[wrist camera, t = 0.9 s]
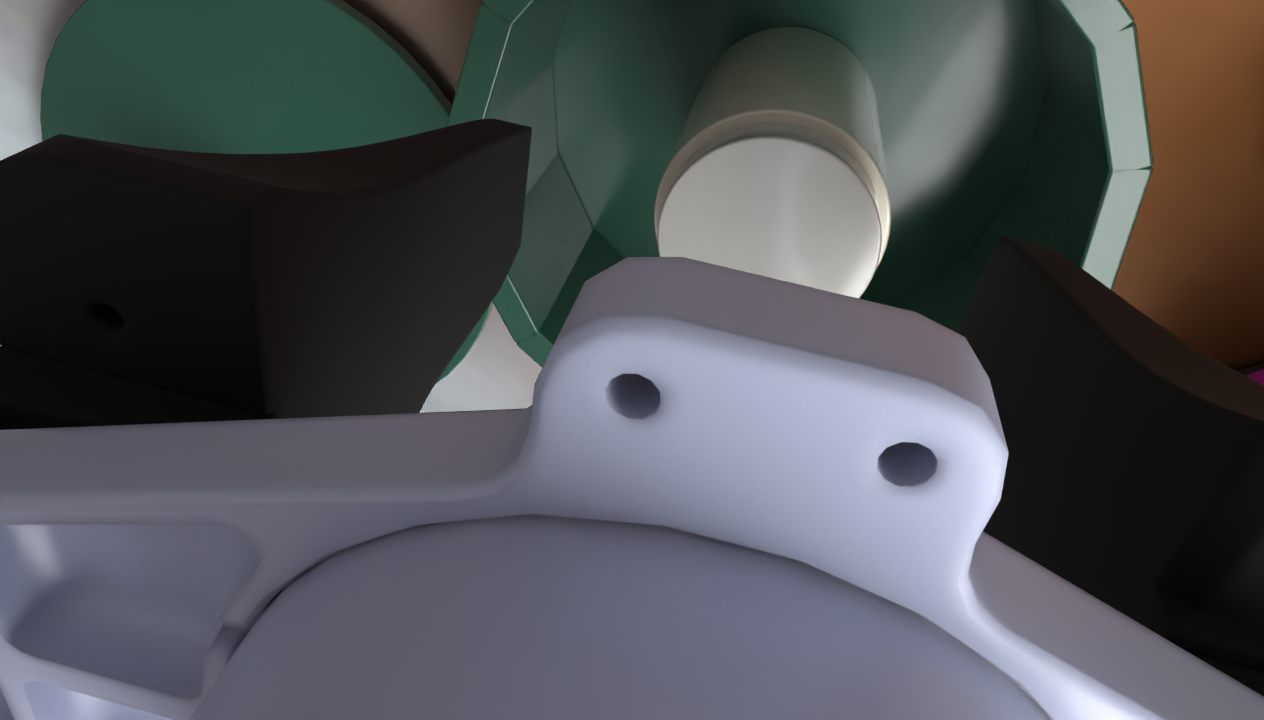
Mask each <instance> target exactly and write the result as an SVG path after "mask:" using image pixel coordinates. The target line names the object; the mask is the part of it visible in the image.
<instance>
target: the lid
mask: <svg viewBox="0 0 1264 720" xmlns="http://www.w3.org/2000/svg"><path fill="white" fill-rule="evenodd" d="M451 108H452V105H451V103H450V102H449V101H448V99H447V98H446V97H445V95H444V94H443V93H442V91H441V90H440V89H439V87H438V86H437V85H436V83H435V82H434V80H433V79H432V78H431V77H430V75H429V74H428V73H427V72H426V71H425V70H424V69H423V68H422V67H421V66H420V65H419V63H418V62H417V61H416V60H415V59H414V58H413V57H412V56H411V55H410V54H409V53H408V52H407V50H406V49H405V48H403V47H402V46H401V45H400V44H399V43H398V42H397V41H395V40H394V39H393V38H392V37H391V36H390V35H389V34H387V33H386V32H385V31H384V30H383V29H382V28H381V27H379V26H378V25H377V24H376V23H375V22H373V21H372V20H370V19H369V18H367V17H366V16H365V15H363V14H362V13H360V12H359V11H357V10H356V9H354V8H353V7H352V6H350V5H349V4H347V3H346V2H344V1H343V0H86V1H85V2H84V3H83V4H82V5H81V6H80V7H79V8H78V9H77V10H76V11H75V12H74V13H73V14H72V16H71V17H70V18H69V20H68V22H67V23H66V25H65V26H64V28H63V30H62V31H61V33H60V35H59V36H58V38H57V39H56V42H55V44H54V47H53V50H52V52H51V55H50V57H49V60H48V63H47V66H46V71H45V76H44V81H43V86H42V92H41V117H40V120H41V130H42V140H43V141H45V140H47V139H49V138H51V137H53V136H55V135H58V134H65V135H70V136H76V137H81V138H88V139H94V140H101V141H108V142H114V143H121V144H127V145H134V146H141V147H148V148H157V149H166V150H177V151H189V152H202V153H221V154H281V153H306V152H316V151H326V150H336V149H343V148H351V147H357V146H363V145H368V144H373V143H378V142H383V141H387V140H392V139H397V138H402V137H407V136H411V135H416V134H420V133H424V132H428V131H432V130H436V129H440V128H444V127H447V122H448V119H449V115H450V111H451ZM492 305H493V301H492V302H491V304H490V305H489V307H488V308H487V310H486V311H485V313H484V314H483V315H482V317H481V318H480V320H479V321H478V323H477V324H476V326H475V327H474V328H473V330H472V331H471V333H470V334H469V336H468V337H467V338H466V340H465V341H464V343H463V344H462V346H461V347H460V348H459V350H458V351H457V353H456V354H455V356H454V357H453V358H452V360H451V361H450V363H449V364H448V366H447V367H446V368H445V370H444V371H443V373H442V374H441V376H440V377H439V379H438V380H437V382H439V381H440V380H441V379H443V378H444V377H445V376H447V375H448V374H449V373H450V372H451V371H452V370H453V369H454V368H455V367H456V366H457V365H458V364H459V363H460V362H461V361H462V360H463V358H464V357H465V356H466V354H467V353H468V351H469V350H470V348H471V347H472V345H473V344H474V342H475V341H476V340H477V338H478V336H479V335H480V333H481V332H482V329H483V327H484V325H485V323H486V321H487V318H488V316H489V314H490V312H491V309H492ZM437 382H436V383H437Z"/></svg>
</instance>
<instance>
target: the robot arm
mask: <svg viewBox="0 0 1264 720" xmlns="http://www.w3.org/2000/svg"><path fill="white" fill-rule="evenodd" d="M531 134H532V127H529V126H524V125H520V124H515V123H511V122H507V121H502V120H498V119H479V120H474V121H469V122H464V123H460V124H456V125H452V126H448V127H444V128H440V129H436V130H432V131H428V132H424V133H420V134H416V135H411V136H407V137H402V138H397V139H392V140H387V141H383V142H378V143H373V144H368V145H363V146H357V147H351V148H343V149H336V150H326V151H316V152H306V153H281V154H221V153H202V152H189V151H177V150H166V149H157V148H148V147H141V146H134V145H127V144H121V143H114V142H108V141H101V140H94V139H88V138H81V137H76V136H70V135H65V134H58V135H55V136H53V137H51V138H49V139H47V140H45V141H42V142H40V143H38V144H36V145H34V146H32V147H29V148H27V149H25V150H23V151H21V152H19V153H16V154H14V155H12V156H10V157H8V158H5V159H3V160H1V161H0V345H2V346H0V720H1264V385H1262V384H1260V383H1258V382H1256V381H1254V380H1252V379H1250V378H1248V377H1246V376H1244V375H1242V374H1241V373H1239V372H1237V371H1235V370H1233V369H1232V368H1230V367H1228V366H1226V365H1224V364H1223V363H1221V362H1219V361H1217V360H1215V359H1214V358H1212V357H1210V356H1208V355H1206V354H1205V353H1203V352H1201V351H1200V350H1198V349H1196V348H1195V347H1193V346H1191V345H1190V344H1188V343H1187V342H1185V341H1183V340H1182V339H1180V338H1179V337H1177V336H1176V335H1174V334H1173V333H1171V332H1170V331H1168V330H1167V329H1165V328H1164V327H1162V326H1161V325H1159V324H1158V323H1156V322H1155V321H1153V320H1152V319H1150V318H1149V317H1148V316H1146V315H1145V314H1143V313H1142V312H1141V311H1139V310H1138V309H1136V308H1135V307H1134V306H1132V305H1131V304H1129V303H1128V302H1127V301H1125V300H1124V299H1123V298H1121V297H1120V296H1118V295H1117V294H1116V293H1114V292H1113V291H1112V290H1110V289H1109V288H1108V287H1106V286H1105V285H1104V284H1102V283H1101V282H1100V281H1098V280H1097V279H1096V278H1094V277H1093V276H1092V275H1090V274H1089V273H1088V272H1086V271H1085V270H1083V269H1082V268H1081V267H1079V266H1078V265H1077V264H1075V263H1074V262H1072V261H1071V260H1069V259H1068V258H1066V257H1065V256H1063V255H1062V254H1060V253H1059V252H1057V251H1055V250H1053V249H1052V248H1050V247H1047V246H1045V245H1043V244H1039V243H1035V242H1030V241H1026V240H1022V239H1017V238H1013V237H1008V236H1004V235H1000V236H999V238H998V241H997V243H996V245H995V247H994V249H993V252H992V254H991V256H990V258H989V260H988V263H987V265H986V267H985V269H984V271H983V274H982V276H981V278H980V280H979V282H978V285H977V287H976V289H975V291H974V293H973V296H972V298H971V300H970V302H969V304H968V307H967V309H966V311H965V313H964V315H963V318H962V320H961V322H960V324H959V326H958V329H957V331H956V332H954V331H952V330H950V329H948V328H946V327H944V326H942V325H940V324H938V323H936V322H934V321H932V320H931V319H929V318H927V317H925V316H923V315H921V314H919V313H917V312H913V311H909V310H905V309H901V308H896V307H892V306H888V305H884V304H879V303H875V302H871V301H867V300H863V299H858V298H854V297H850V296H846V295H841V294H837V293H833V292H829V291H824V290H820V289H816V288H812V287H808V286H803V285H799V284H795V283H791V282H786V281H782V280H778V279H774V278H770V277H765V276H761V275H757V274H753V273H748V272H744V271H740V270H736V269H731V268H727V267H723V266H719V265H715V264H710V263H706V262H702V261H698V260H693V259H689V258H685V257H627V258H625V259H623V260H622V261H620V262H618V263H616V264H615V265H613V266H611V267H609V268H608V269H606V270H604V271H602V272H601V273H599V274H597V275H595V276H594V277H592V278H590V279H588V280H587V281H585V282H584V285H583V287H582V289H581V291H580V293H579V295H578V297H577V299H576V301H575V303H574V305H573V307H572V309H571V311H570V313H569V315H568V317H567V319H566V321H565V323H564V325H563V327H562V329H561V331H560V333H559V335H558V337H557V339H556V341H555V344H554V346H553V348H552V350H551V352H550V354H549V356H548V358H547V360H546V362H545V364H544V366H543V368H542V370H541V372H540V374H539V376H538V378H537V380H536V383H535V388H534V396H533V404H532V406H530V407H528V408H526V409H505V410H480V411H456V412H431V413H419V412H420V410H421V408H422V406H423V404H424V402H425V400H426V398H427V397H428V395H429V393H430V392H431V390H432V388H433V387H434V385H435V384H436V382H437V380H438V379H439V377H440V376H441V374H442V373H443V371H444V370H445V368H446V367H447V366H448V364H449V363H450V361H451V360H452V358H453V357H454V356H455V354H456V353H457V351H458V350H459V348H460V347H461V346H462V344H463V343H464V341H465V340H466V338H467V337H468V336H469V334H470V333H471V331H472V330H473V328H474V327H475V326H476V324H477V323H478V321H479V320H480V318H481V317H482V315H483V314H484V313H485V311H486V310H487V308H488V307H489V305H490V304H491V302H492V301H493V299H494V298H495V296H496V295H497V293H498V292H499V290H500V289H501V287H502V285H503V283H504V281H505V278H506V276H507V274H508V272H509V270H510V268H511V266H512V264H513V261H514V259H515V257H516V255H517V253H518V250H519V248H520V246H521V238H522V227H523V217H524V207H525V196H526V186H527V176H528V165H529V155H530V145H531Z"/></svg>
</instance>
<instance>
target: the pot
mask: <svg viewBox="0 0 1264 720" xmlns="http://www.w3.org/2000/svg"><path fill="white" fill-rule="evenodd" d="M778 27H800V28H807V29H811V30H815V31H818V32H821V33H824V34H826V35H829V36H830V37H832V38H834V39H836V40H837V41H839V42H841V43H842V44H843V45H844V46H846V47H847V48H848V49H849V50H850V51H851V52H852V53H853V54H854V55H855V56H856V57H857V58H858V59H859V61H860V62H861V63H862V65H863V66H864V67H865V69H866V71H867V73H868V75H869V77H870V79H871V82H872V85H873V87H874V91H875V96H876V101H877V108H878V115H879V122H880V130H881V137H882V145H883V152H884V159H885V167H886V174H887V182H888V189H889V197H890V204H891V228H890V235H889V239H888V243H887V248H886V250H885V253H884V255H883V257H882V260H881V262H880V264H879V265H878V267H877V269H876V271H875V273H874V276H873V278H872V280H871V282H870V283H869V285H868V287H867V289H866V290H865V291H864V293H863V294H862V295H861V297H860V298H859V299H863V300H867V301H871V302H875V303H879V304H884V305H888V306H892V307H896V308H901V309H905V310H909V311H913V312H917V313H919V314H921V315H923V316H925V317H927V318H929V319H931V320H932V321H934V322H936V323H938V324H940V325H942V326H944V327H946V328H948V329H950V330H952V331H954V332H956V331H957V329H958V326H959V324H960V322H961V320H962V318H963V315H964V313H965V311H966V309H967V307H968V304H969V302H970V300H971V298H972V296H973V293H974V291H975V289H976V287H977V285H978V282H979V280H980V278H981V276H982V274H983V271H984V269H985V267H986V265H987V263H988V260H989V258H990V256H991V254H992V252H993V249H994V247H995V245H996V243H997V241H998V238H999V236H1000V235H1004V236H1008V237H1013V238H1017V239H1022V240H1026V241H1030V242H1035V243H1039V244H1043V245H1045V246H1047V247H1050V248H1052V249H1053V250H1055V251H1057V252H1059V253H1060V254H1062V255H1063V256H1065V257H1066V258H1068V259H1069V260H1071V261H1072V262H1074V263H1075V264H1077V265H1078V266H1079V267H1081V268H1082V269H1083V270H1085V271H1086V272H1088V273H1089V274H1090V275H1092V276H1093V277H1094V278H1096V279H1097V280H1098V281H1100V282H1101V283H1102V284H1104V285H1105V286H1106V287H1108V288H1109V289H1110V290H1112V288H1113V286H1114V283H1115V280H1116V277H1117V274H1118V271H1119V268H1120V265H1121V262H1122V259H1123V256H1124V253H1125V250H1126V247H1127V244H1128V241H1129V238H1130V235H1131V232H1132V230H1133V227H1134V224H1135V221H1136V218H1137V215H1138V212H1139V209H1140V206H1141V203H1142V200H1143V197H1144V194H1145V191H1146V188H1147V185H1148V182H1149V179H1150V176H1151V173H1152V171H1153V168H1152V165H1153V156H1152V148H1151V140H1150V132H1149V124H1148V116H1147V108H1146V100H1145V92H1144V85H1143V77H1142V69H1141V61H1140V53H1139V45H1138V37H1137V29H1136V24H1135V23H1134V17H1133V16H1132V15H1131V13H1130V12H1129V10H1128V9H1127V7H1126V6H1125V5H1124V3H1123V2H1122V0H482V2H481V3H480V5H479V9H478V13H477V16H476V20H475V24H474V27H473V31H472V35H471V38H470V42H469V46H468V49H467V53H466V57H465V60H464V64H463V68H462V71H461V75H460V79H459V82H458V86H457V90H456V93H455V97H454V101H453V104H452V108H451V111H450V115H449V119H448V122H447V127H448V126H452V125H456V124H460V123H464V122H469V121H474V120H479V119H498V120H502V121H507V122H511V123H515V124H520V125H524V126H529V127H532V134H531V145H530V155H529V165H528V176H527V186H526V196H525V207H524V217H523V227H522V238H521V246H520V248H519V250H518V253H517V255H516V257H515V259H514V261H513V264H512V266H511V268H510V270H509V272H508V274H507V276H506V278H505V281H504V283H503V285H502V287H501V289H500V290H499V292H498V293H497V295H496V296H495V298H494V299H493V303H494V305H495V307H496V308H497V310H498V312H499V314H500V316H501V318H502V319H503V321H504V323H505V325H506V327H507V328H508V330H509V332H510V334H511V336H512V338H513V339H514V341H515V342H517V345H518V346H519V347H520V348H521V349H522V350H523V351H524V352H525V353H527V354H528V355H529V356H530V357H531V358H532V359H533V360H534V361H536V362H537V363H538V364H539V365H540V366H541V367H542V368H543V366H544V364H545V362H546V360H547V358H548V356H549V354H550V352H551V350H552V348H553V346H554V344H555V341H556V339H557V337H558V335H559V333H560V331H561V329H562V327H563V325H564V323H565V321H566V319H567V317H568V315H569V313H570V311H571V309H572V307H573V305H574V303H575V301H576V299H577V297H578V295H579V293H580V291H581V289H582V287H583V285H584V282H585V281H587V280H588V279H590V278H592V277H594V276H595V275H597V274H599V273H601V272H602V271H604V270H606V269H608V268H609V267H611V266H613V265H615V264H616V263H618V262H620V261H622V260H623V259H625V258H627V257H660V256H659V251H658V244H657V239H656V234H655V226H654V208H655V200H656V196H657V191H658V188H659V185H660V182H661V180H662V177H663V174H664V172H665V170H666V167H667V165H668V163H669V160H670V158H671V156H672V153H673V151H674V148H675V146H676V144H677V141H678V139H679V137H680V134H681V132H682V130H683V127H684V125H685V123H686V120H687V118H688V116H689V113H690V111H691V108H692V106H693V104H694V101H695V99H696V97H697V94H698V92H699V90H700V87H701V85H702V83H703V81H704V79H705V77H706V75H707V73H708V71H709V70H710V69H711V67H712V66H713V64H714V63H715V62H716V61H717V59H718V58H719V57H720V56H721V55H722V54H723V53H724V52H725V51H726V50H728V49H729V48H730V47H731V46H732V45H734V44H735V43H737V42H739V41H740V40H742V39H743V38H745V37H748V36H750V35H752V34H754V33H757V32H760V31H763V30H766V29H772V28H778Z"/></svg>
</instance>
